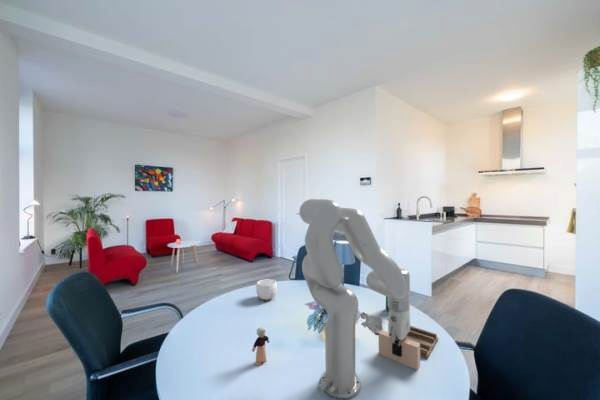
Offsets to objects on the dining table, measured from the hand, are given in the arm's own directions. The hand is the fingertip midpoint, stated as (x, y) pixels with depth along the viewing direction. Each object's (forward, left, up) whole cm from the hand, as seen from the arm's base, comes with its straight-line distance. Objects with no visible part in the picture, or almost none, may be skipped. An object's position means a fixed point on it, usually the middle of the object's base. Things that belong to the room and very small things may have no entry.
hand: (398, 352), depth 94 cm
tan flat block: (0, 0, -3) cm, 3 cm away
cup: (+6, +79, -3) cm, 79 cm away
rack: (+15, 0, -3) cm, 15 cm away
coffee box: (+38, +16, -3) cm, 41 cm away
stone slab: (+18, +19, -4) cm, 26 cm away
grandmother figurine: (-33, +38, -3) cm, 50 cm away
